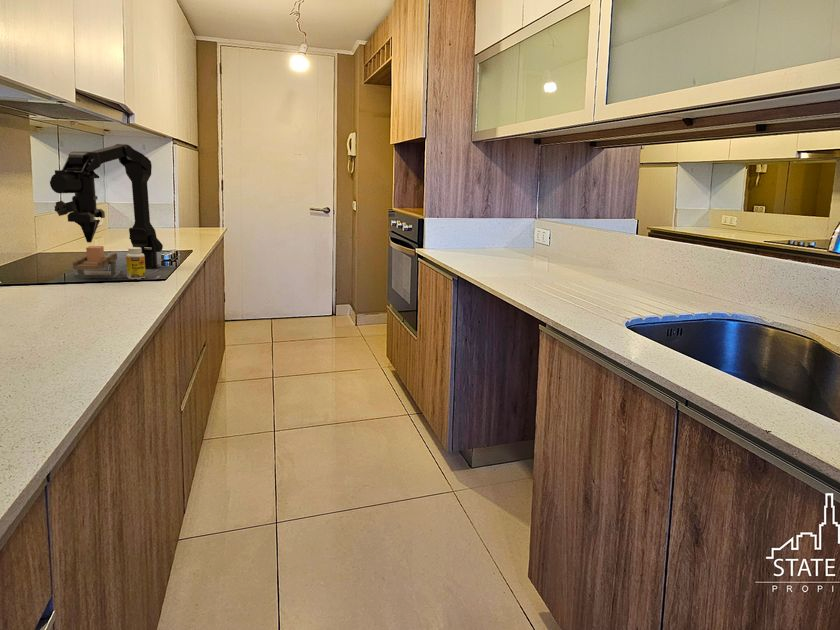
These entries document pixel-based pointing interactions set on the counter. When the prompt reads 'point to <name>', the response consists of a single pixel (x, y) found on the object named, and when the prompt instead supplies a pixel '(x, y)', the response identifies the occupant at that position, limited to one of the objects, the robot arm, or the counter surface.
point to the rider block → (95, 253)
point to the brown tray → (94, 263)
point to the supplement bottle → (135, 263)
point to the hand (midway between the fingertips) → (89, 242)
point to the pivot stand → (98, 273)
